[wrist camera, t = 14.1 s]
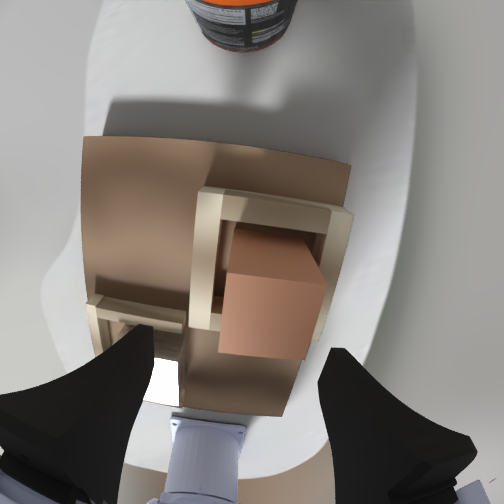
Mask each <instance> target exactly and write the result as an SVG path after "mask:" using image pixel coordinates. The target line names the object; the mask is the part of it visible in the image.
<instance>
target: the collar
mask: <svg viewBox="0 0 504 504" xmlns="http://www.w3.org/2000/svg"><path fill="white" fill-rule="evenodd" d="M353 218H354V215H353V214H352V213H351V212H349V211H348V210H347V209H345V208H344V207H341V206H336V205H330V204H325V203H319V202H313V201H307V200H301V199H295V198H289V197H283V196H276V195H269V194H262V193H255V192H248V191H241V190H233V189H225V188H217V187H209V186H204V187H202V188H201V189H200V190H199V191H198V197H197V207H196V217H195V228H194V240H193V253H192V268H191V284H190V303H189V326H188V327H191V328H198V329H205V330H212V331H220V329H221V320H222V311H223V302H224V297H219V296H214V293H215V283H216V273H217V264H218V255H219V246H220V237H221V228H222V220H230V221H238V222H245V223H253V224H260V225H267V226H274V227H281V228H288V229H295V230H302V231H309V232H315V233H317V234H316V238H315V243H314V247H313V252H312V256H313V258H314V260H315V262H316V264H317V265H318V267H319V269H320V271H321V273H322V275H323V277H324V279H325V281H326V283H327V289H326V292H325V296H324V299H323V303H322V306H321V310H320V313H319V316H318V320H317V323H316V326H315V330H314V333H313V336H312V339H311V341H319V340H320V337H321V334H322V331H323V327H324V324H325V321H326V318H327V315H328V312H329V308H330V305H331V302H332V298H333V295H334V291H335V288H336V285H337V281H338V277H339V274H340V270H341V266H342V263H343V259H344V255H345V251H346V247H347V243H348V239H349V235H350V231H351V227H352V222H353Z"/></svg>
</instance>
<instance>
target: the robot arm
mask: <svg viewBox="0 0 504 504" xmlns="http://www.w3.org/2000/svg"><path fill="white" fill-rule="evenodd" d="M154 366H155V353H154V333H153V326H148V325H143V324H138V325H137V326H135V327H134V328H133V329H132V330H130V331H129V332H128V333H127V334H126V335H124V336H123V337H122V338H121V339H119V340H118V341H117V342H116V343H114V344H113V345H112V346H110V347H109V348H108V349H107V350H105V351H104V352H103V353H101V354H100V355H98V356H97V357H95V358H94V359H92V360H91V361H90V362H88V363H86V364H85V365H83V366H81V367H80V368H78V369H76V370H74V371H72V372H70V373H68V374H66V375H64V376H62V377H60V378H58V379H56V380H53V381H51V382H48V383H45V384H42V385H39V386H36V387H33V388H30V389H26V390H23V391H17V392H12V393H8V394H2V395H0V446H1V447H2V449H3V450H4V453H3V454H2V456H1V455H0V504H117V499H118V491H119V484H120V478H121V472H122V467H123V463H124V458H125V453H126V449H127V445H128V441H129V437H130V433H131V430H132V427H133V424H134V422H135V419H136V417H137V414H138V412H139V409H140V407H141V404H142V402H143V400H144V397H145V395H146V392H147V390H148V387H149V385H150V381H151V378H152V374H153V370H154ZM318 392H319V400H320V405H321V409H322V413H323V417H324V421H325V425H326V429H327V433H328V437H329V441H330V445H331V449H332V457H333V465H334V477H335V496H336V497H335V500H336V504H490V502H489V499H488V497H487V495H486V492H485V490H484V488H483V486H482V484H481V482H480V480H476V481H474V482H472V483H470V484H468V485H466V486H464V487H462V488H460V489H459V490H457V491H455V490H454V487H453V486H455V485H456V484H457V481H456V479H455V477H456V476H457V475H458V474H459V473H460V472H461V471H463V470H464V469H465V468H466V467H467V466H468V465H469V464H470V463H471V462H472V461H473V460H474V458H475V457H476V455H477V449H476V448H475V446H474V444H473V442H472V440H471V438H470V437H469V436H467V435H464V434H461V433H458V432H455V431H452V430H450V429H447V428H445V427H443V426H441V425H438V424H436V423H434V422H432V421H430V420H429V419H427V418H425V417H423V416H422V415H420V414H418V413H417V412H415V411H413V410H412V409H410V408H409V407H408V406H406V405H405V404H404V403H402V402H401V401H400V400H398V399H397V398H396V397H395V396H393V395H392V394H391V393H390V392H389V391H387V390H386V389H385V388H384V387H383V386H382V385H381V384H380V383H379V382H378V381H377V380H376V379H374V378H373V376H372V375H370V373H369V372H368V371H367V370H366V369H365V368H364V367H363V366H362V365H361V364H360V363H359V362H358V361H357V360H356V359H355V358H354V357H353V356H352V355H351V354H350V353H349V352H348V351H347V350H346V349H345V348H331V349H330V352H329V354H328V357H327V360H326V362H325V365H324V367H323V370H322V372H321V375H320V377H319V380H318ZM170 427H171V436H172V445H173V448H172V453H171V458H170V463H169V469H168V474H167V479H166V484H165V489H164V492H162V493H161V497H160V500H159V499H156V498H153V499H152V500H151V501H148V502H147V504H238V503H237V485H238V483H237V482H238V459H239V455H240V452H241V448H242V444H243V440H244V436H245V432H246V427H245V426H242V425H231V424H222V423H214V422H206V421H199V420H192V419H186V418H180V417H171V418H170Z"/></svg>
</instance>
